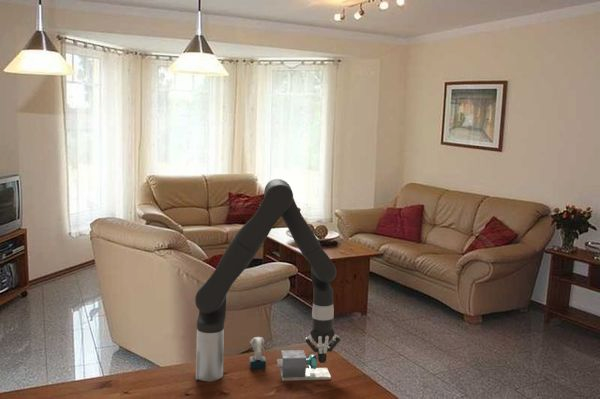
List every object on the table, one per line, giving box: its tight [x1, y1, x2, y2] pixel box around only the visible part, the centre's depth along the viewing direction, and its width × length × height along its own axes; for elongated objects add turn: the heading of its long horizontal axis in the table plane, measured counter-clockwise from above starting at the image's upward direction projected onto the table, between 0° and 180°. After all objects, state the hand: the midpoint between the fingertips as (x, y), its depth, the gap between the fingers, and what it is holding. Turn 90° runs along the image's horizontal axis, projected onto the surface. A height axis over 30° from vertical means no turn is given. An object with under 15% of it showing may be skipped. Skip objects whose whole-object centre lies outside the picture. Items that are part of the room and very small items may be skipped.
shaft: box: [276, 353, 318, 369], centre depth 194 cm, size 14×5×5 cm, turn 98°
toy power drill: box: [249, 336, 267, 371], centre depth 199 cm, size 6×8×11 cm
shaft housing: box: [280, 349, 332, 382], centre depth 194 cm, size 17×7×8 cm, turn 98°
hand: (322, 362), depth 195 cm, fingers closed
